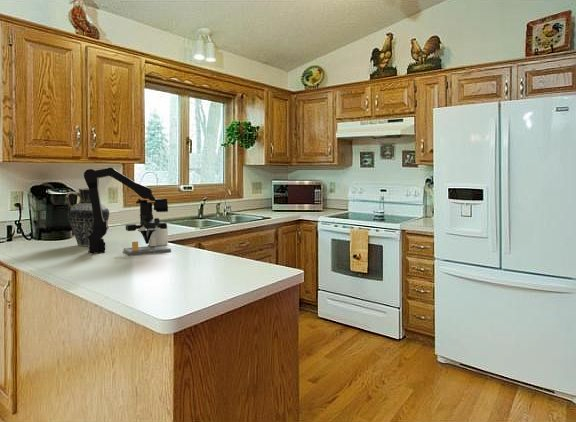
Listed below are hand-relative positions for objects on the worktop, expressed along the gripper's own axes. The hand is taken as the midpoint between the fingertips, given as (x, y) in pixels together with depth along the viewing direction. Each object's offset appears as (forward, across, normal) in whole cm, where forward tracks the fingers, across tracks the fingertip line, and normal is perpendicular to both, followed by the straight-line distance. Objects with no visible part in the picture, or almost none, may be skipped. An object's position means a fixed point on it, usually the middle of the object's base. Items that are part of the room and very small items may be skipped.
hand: (147, 243), depth 197 cm
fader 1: (+1, -7, -8) cm, 11 cm away
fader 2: (+1, +3, 0) cm, 3 cm away
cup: (+4, +9, +12) cm, 15 cm away
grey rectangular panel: (+3, -1, -4) cm, 5 cm away
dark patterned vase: (+3, -22, +30) cm, 37 cm away
